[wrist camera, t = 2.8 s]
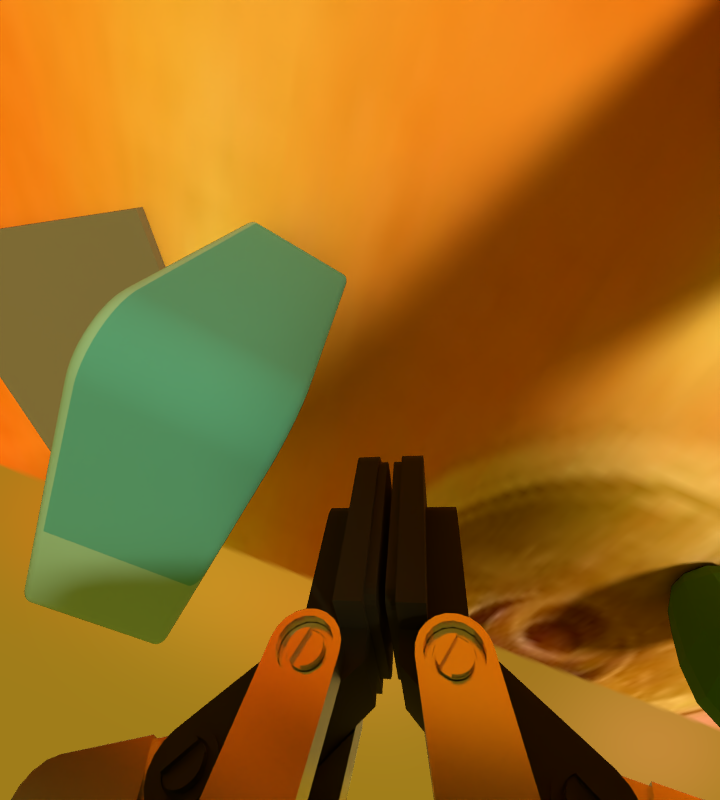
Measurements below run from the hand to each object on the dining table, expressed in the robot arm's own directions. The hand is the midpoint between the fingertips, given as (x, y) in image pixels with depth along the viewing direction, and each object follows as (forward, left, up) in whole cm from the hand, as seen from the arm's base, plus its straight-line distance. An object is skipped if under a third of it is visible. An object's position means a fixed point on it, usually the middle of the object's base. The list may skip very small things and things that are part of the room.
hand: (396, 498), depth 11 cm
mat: (+17, 0, -11) cm, 20 cm away
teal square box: (+8, 0, -11) cm, 13 cm away
